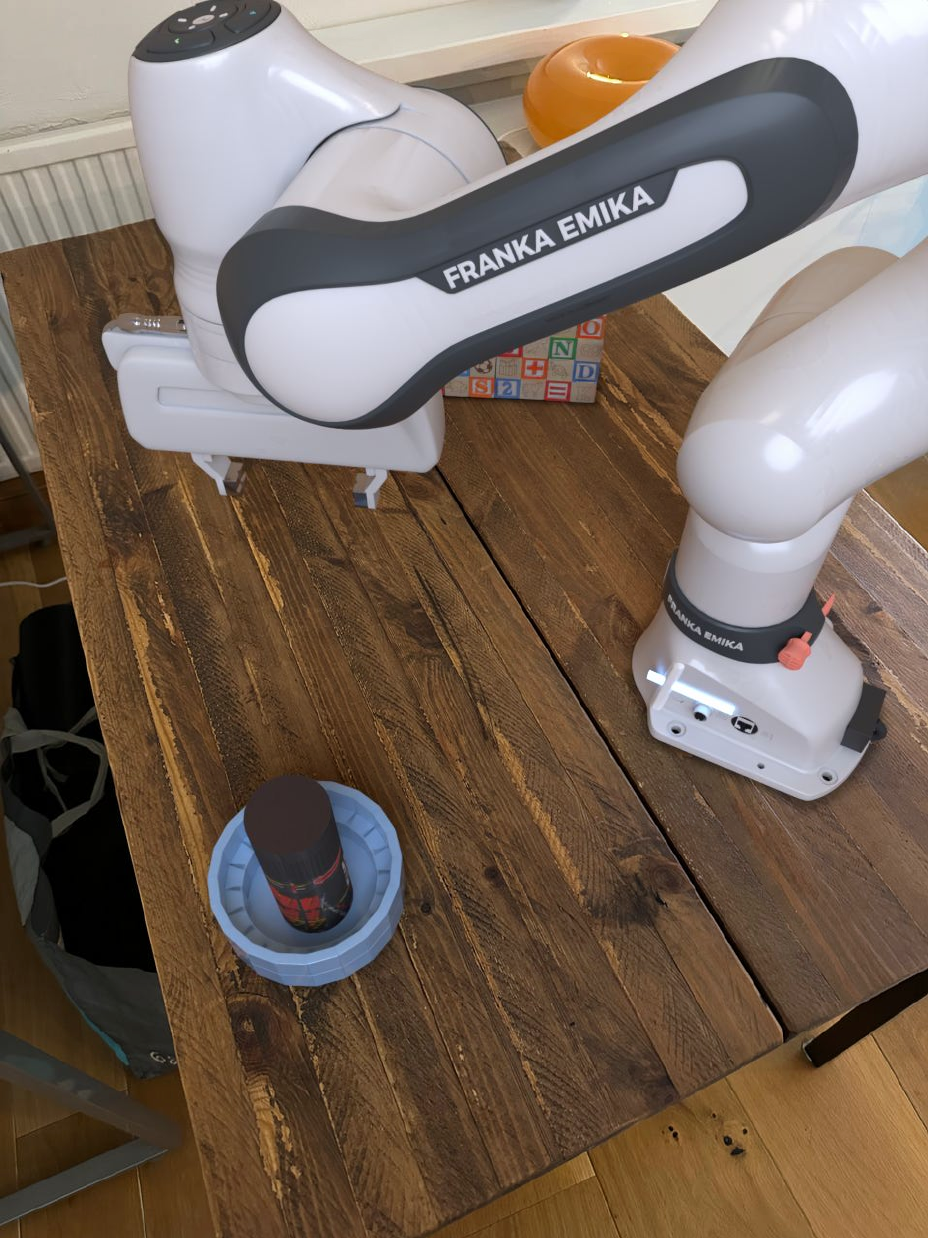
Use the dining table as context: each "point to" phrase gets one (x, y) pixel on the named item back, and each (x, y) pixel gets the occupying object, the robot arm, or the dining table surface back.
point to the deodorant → (300, 852)
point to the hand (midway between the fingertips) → (300, 495)
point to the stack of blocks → (540, 369)
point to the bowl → (262, 927)
